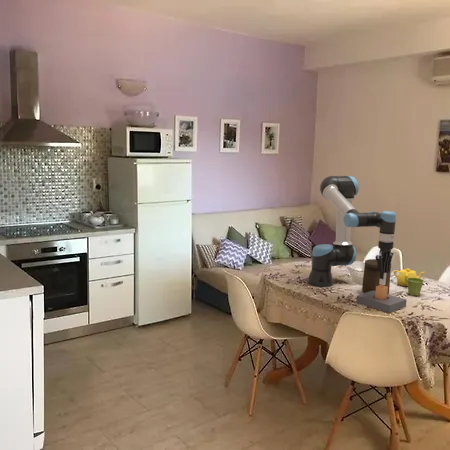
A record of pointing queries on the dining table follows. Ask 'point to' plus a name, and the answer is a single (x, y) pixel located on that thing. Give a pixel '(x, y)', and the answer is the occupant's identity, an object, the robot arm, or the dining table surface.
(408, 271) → the teapot
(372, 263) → the wooden container
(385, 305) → the socket board
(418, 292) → the plant pot
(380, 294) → the orange plug
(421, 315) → the dining table surface
